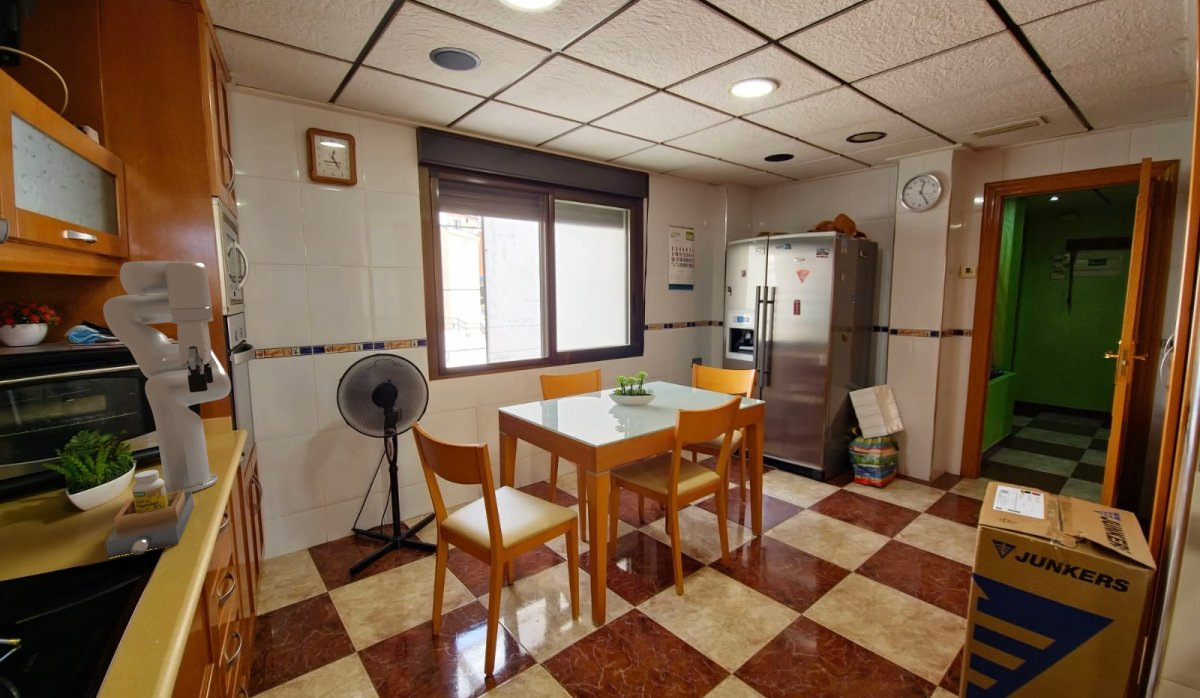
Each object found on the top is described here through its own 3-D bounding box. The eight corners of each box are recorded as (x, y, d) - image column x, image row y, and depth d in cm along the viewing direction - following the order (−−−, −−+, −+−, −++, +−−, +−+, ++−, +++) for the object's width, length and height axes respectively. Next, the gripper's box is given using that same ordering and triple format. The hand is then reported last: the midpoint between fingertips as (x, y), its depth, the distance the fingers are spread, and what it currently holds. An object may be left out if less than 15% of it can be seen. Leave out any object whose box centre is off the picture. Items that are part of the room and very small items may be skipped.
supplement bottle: (172, 506, 116) (166, 466, 114) (164, 516, 111) (157, 475, 109) (142, 511, 113) (135, 470, 112) (132, 521, 109) (125, 480, 107)
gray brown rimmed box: (134, 518, 118) (130, 492, 117) (193, 506, 124) (190, 481, 123) (104, 567, 99) (98, 537, 98) (175, 551, 105) (171, 522, 103)
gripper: (178, 313, 122) (188, 382, 125) (163, 319, 107) (174, 397, 110) (217, 312, 126) (225, 378, 128) (207, 317, 111) (217, 392, 114)
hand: (202, 387), depth 119 cm, fingers open, 9 cm apart
